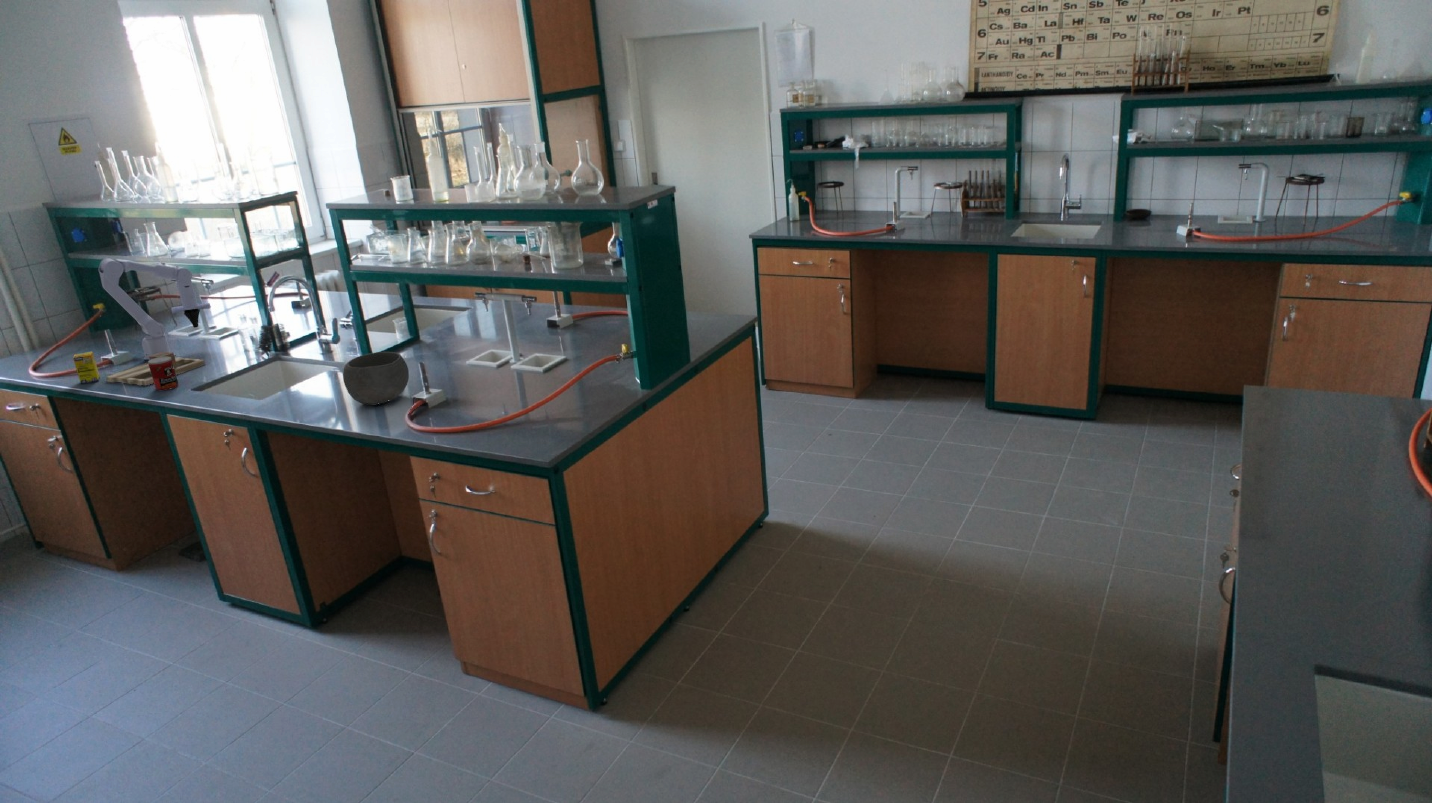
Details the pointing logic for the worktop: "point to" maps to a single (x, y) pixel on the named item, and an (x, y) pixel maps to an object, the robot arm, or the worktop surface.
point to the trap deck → (143, 373)
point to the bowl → (376, 377)
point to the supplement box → (86, 367)
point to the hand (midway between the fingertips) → (196, 326)
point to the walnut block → (165, 355)
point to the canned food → (163, 373)
